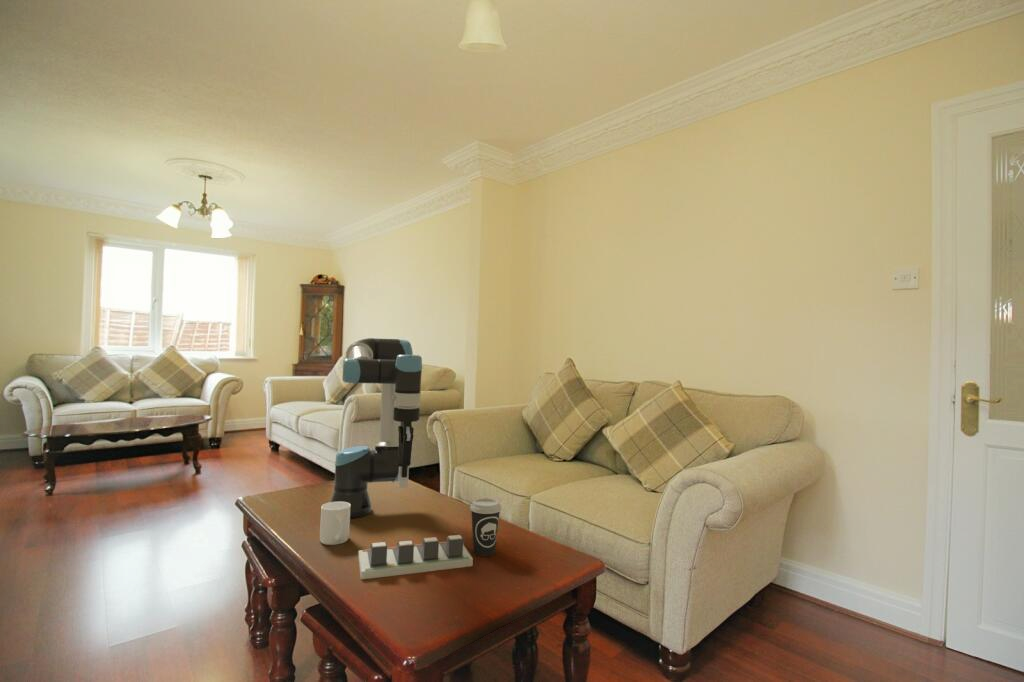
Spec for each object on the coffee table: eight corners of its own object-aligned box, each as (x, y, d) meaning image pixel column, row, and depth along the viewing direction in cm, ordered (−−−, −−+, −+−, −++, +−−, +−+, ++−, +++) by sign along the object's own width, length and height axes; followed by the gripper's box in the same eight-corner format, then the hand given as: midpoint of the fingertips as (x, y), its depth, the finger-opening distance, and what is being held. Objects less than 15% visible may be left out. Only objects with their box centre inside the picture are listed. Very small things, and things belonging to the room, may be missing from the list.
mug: (325, 551, 140) (327, 514, 140) (316, 538, 150) (318, 503, 150) (355, 546, 144) (356, 510, 145) (344, 533, 154) (346, 500, 155)
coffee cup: (504, 548, 147) (506, 499, 148) (492, 560, 138) (495, 508, 139) (475, 543, 150) (477, 495, 151) (462, 555, 141) (465, 503, 142)
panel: (358, 557, 137) (358, 549, 137) (460, 546, 147) (460, 539, 147) (361, 579, 123) (361, 570, 124) (472, 566, 134) (472, 558, 134)
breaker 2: (396, 559, 131) (397, 541, 131) (411, 557, 132) (412, 540, 132) (398, 563, 128) (399, 545, 128) (413, 561, 129) (413, 544, 130)
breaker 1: (370, 560, 129) (370, 542, 129) (385, 559, 131) (386, 541, 131) (370, 565, 126) (371, 547, 126) (386, 563, 128) (387, 545, 128)
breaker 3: (421, 555, 134) (422, 538, 134) (435, 553, 135) (436, 536, 136) (423, 559, 131) (424, 542, 131) (438, 557, 133) (438, 540, 133)
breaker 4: (446, 552, 137) (447, 535, 137) (459, 551, 138) (460, 534, 138) (448, 556, 134) (449, 539, 134) (462, 555, 135) (463, 538, 135)
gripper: (391, 404, 145) (387, 481, 145) (396, 410, 133) (392, 495, 133) (416, 404, 148) (412, 480, 147) (423, 410, 136) (419, 493, 135)
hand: (402, 487), depth 140 cm, fingers closed
